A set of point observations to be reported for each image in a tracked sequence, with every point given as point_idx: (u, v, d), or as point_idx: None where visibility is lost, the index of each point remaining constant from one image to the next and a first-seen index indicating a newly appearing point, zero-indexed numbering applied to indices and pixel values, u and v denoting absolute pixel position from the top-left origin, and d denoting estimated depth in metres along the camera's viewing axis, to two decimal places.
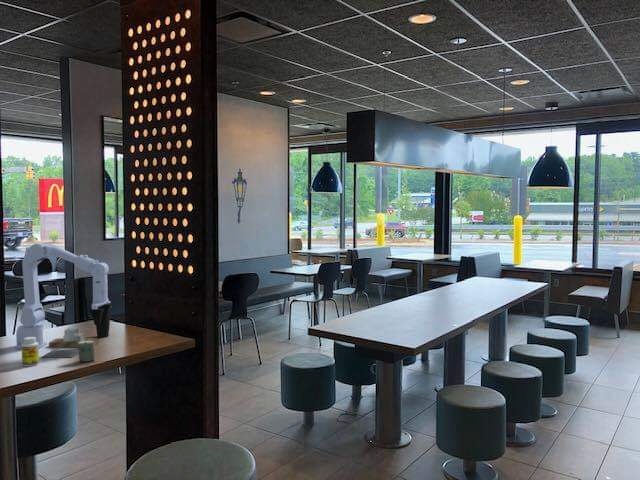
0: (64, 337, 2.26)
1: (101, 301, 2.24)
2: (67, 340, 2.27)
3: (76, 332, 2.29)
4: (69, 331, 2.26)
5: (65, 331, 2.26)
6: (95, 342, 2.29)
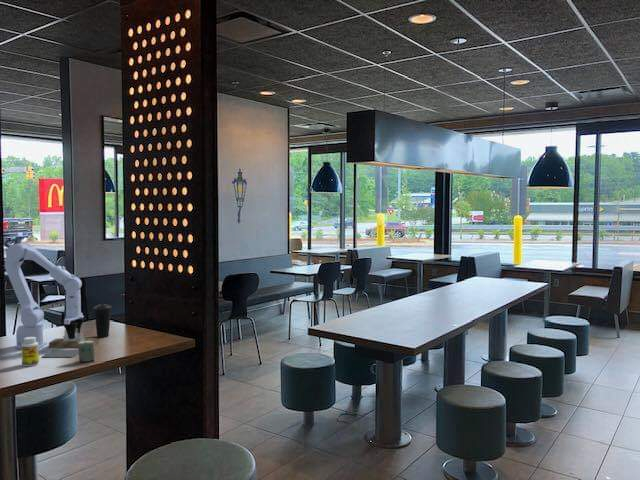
0: (64, 337, 2.26)
1: (74, 316, 2.26)
2: (67, 340, 2.27)
3: (76, 332, 2.29)
4: None
5: (65, 331, 2.26)
6: (95, 342, 2.29)
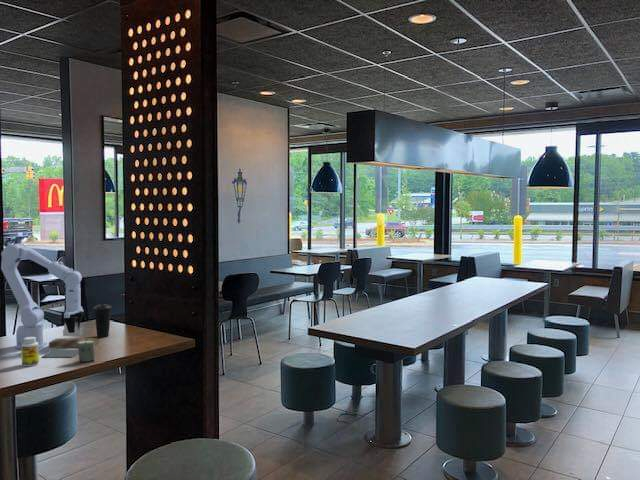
0: (64, 331, 2.26)
1: (74, 310, 2.26)
2: (67, 334, 2.26)
3: (76, 326, 2.29)
4: None
5: (65, 325, 2.26)
6: (95, 342, 2.29)
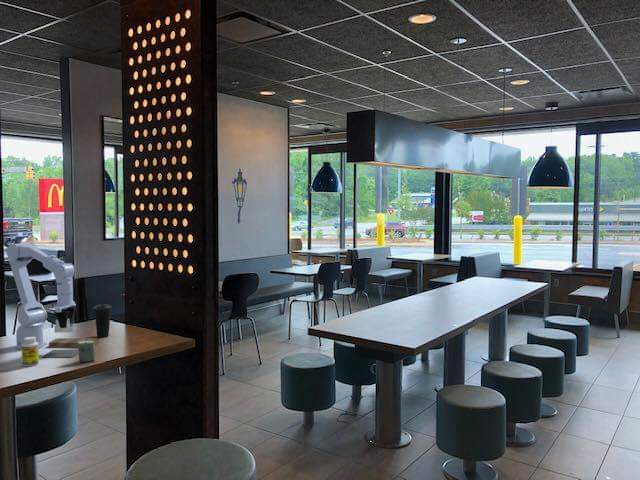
0: (55, 327, 2.16)
1: (66, 304, 2.15)
2: (59, 331, 2.16)
3: (68, 322, 2.18)
4: None
5: (56, 321, 2.16)
6: (95, 342, 2.29)
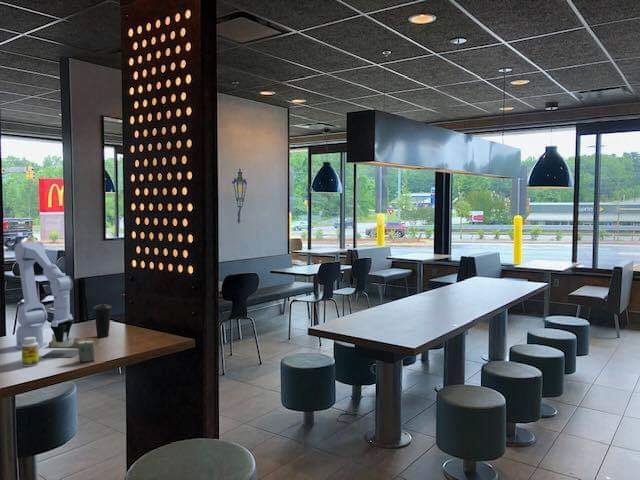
0: (52, 342, 2.12)
1: (62, 318, 2.12)
2: (55, 345, 2.13)
3: (65, 336, 2.15)
4: None
5: (53, 335, 2.12)
6: (95, 342, 2.29)
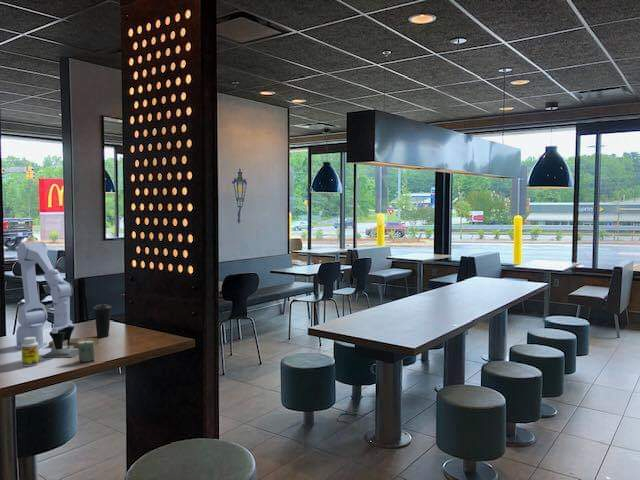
0: (52, 350, 2.13)
1: (62, 324, 2.12)
2: (55, 353, 2.13)
3: (65, 344, 2.15)
4: None
5: (53, 343, 2.12)
6: (95, 342, 2.29)
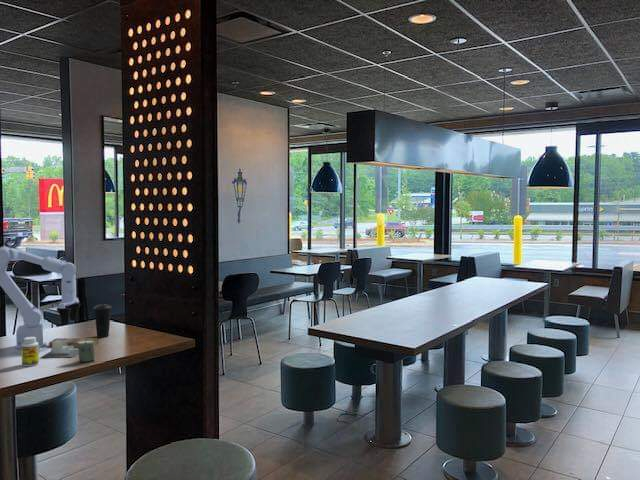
0: (52, 350, 2.13)
1: (69, 300, 2.28)
2: (55, 353, 2.13)
3: (65, 344, 2.15)
4: (57, 343, 2.13)
5: (53, 343, 2.12)
6: (95, 342, 2.29)
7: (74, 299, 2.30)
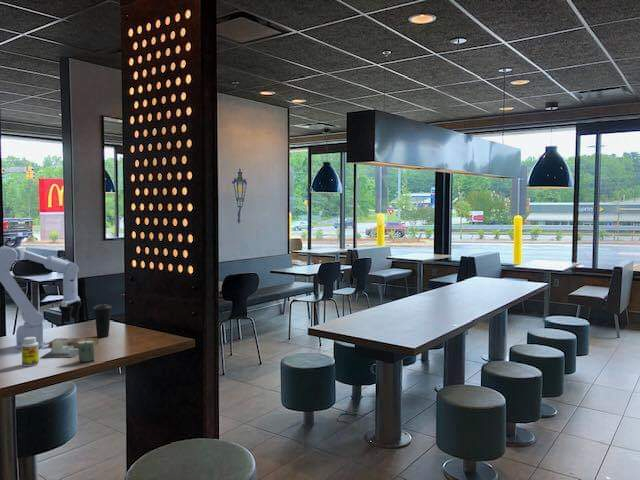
0: (52, 350, 2.13)
1: (71, 299, 2.32)
2: (55, 353, 2.13)
3: (65, 344, 2.15)
4: (57, 343, 2.13)
5: (53, 343, 2.12)
6: (95, 342, 2.29)
7: (76, 297, 2.34)
